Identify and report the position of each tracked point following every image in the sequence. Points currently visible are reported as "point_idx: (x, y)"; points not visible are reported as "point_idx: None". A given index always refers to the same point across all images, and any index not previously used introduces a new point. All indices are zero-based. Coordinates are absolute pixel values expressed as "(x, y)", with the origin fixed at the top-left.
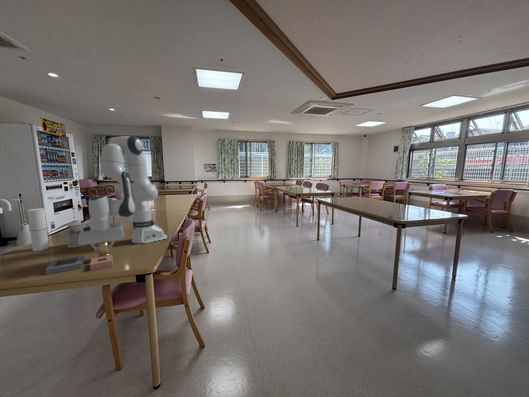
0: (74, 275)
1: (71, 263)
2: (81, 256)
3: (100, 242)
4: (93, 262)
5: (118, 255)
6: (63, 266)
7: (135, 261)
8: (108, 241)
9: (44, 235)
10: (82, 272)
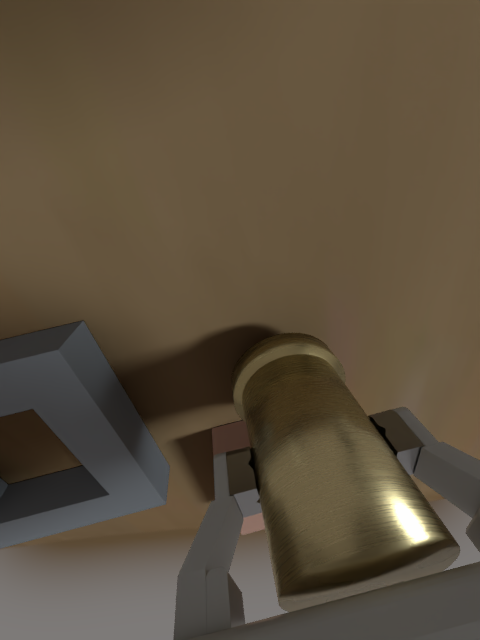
0: (179, 520)
1: (88, 502)
2: (58, 388)
3: (329, 590)
4: (251, 516)
5: (376, 304)
6: (66, 530)
7: (443, 432)
8: (452, 559)
9: None
10: (203, 503)
